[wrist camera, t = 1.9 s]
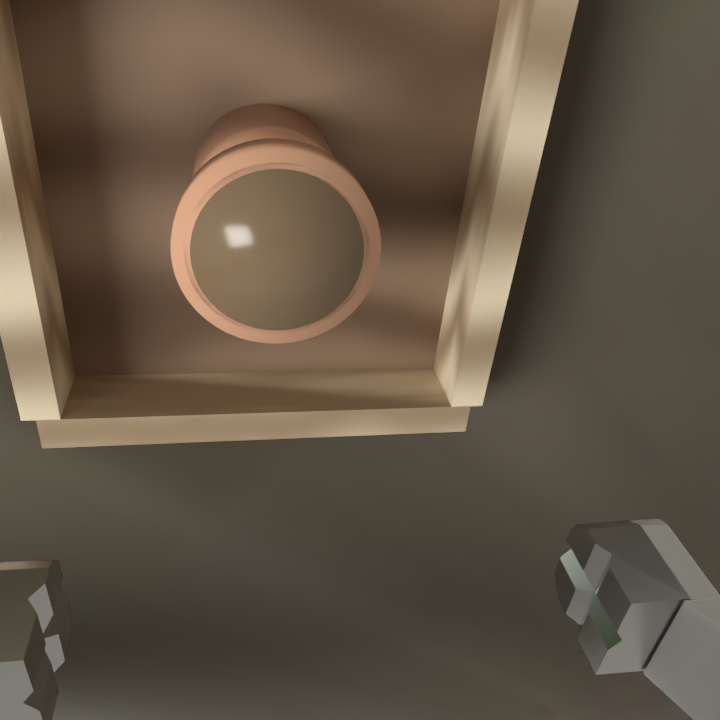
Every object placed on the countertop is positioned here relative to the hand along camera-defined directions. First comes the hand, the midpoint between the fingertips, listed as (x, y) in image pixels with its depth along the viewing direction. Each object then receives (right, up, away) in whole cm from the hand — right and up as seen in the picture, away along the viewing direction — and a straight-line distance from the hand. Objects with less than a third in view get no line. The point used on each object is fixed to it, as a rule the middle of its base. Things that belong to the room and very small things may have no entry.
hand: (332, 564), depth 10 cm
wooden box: (-4, +11, +18) cm, 22 cm away
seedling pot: (-4, +11, +17) cm, 21 cm away
